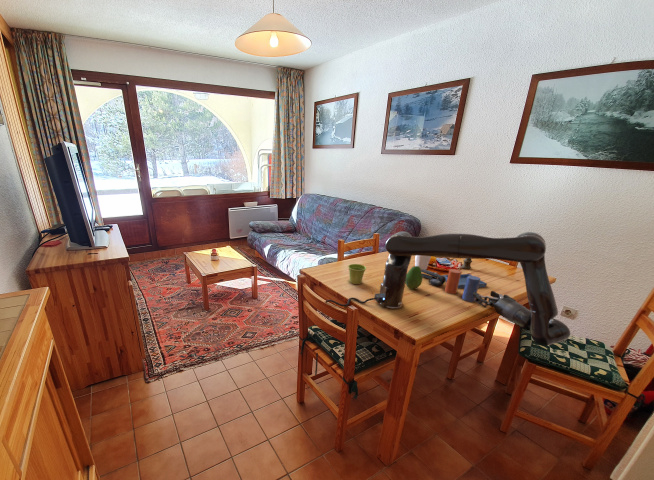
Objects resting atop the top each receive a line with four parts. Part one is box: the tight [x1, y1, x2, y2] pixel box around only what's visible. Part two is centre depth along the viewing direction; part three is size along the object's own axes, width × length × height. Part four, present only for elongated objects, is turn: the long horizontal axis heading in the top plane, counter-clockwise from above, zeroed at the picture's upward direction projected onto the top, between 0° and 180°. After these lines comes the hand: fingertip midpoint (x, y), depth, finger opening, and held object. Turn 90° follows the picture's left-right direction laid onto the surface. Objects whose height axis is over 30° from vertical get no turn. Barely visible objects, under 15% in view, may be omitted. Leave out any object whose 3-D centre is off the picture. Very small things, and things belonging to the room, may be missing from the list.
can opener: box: [421, 269, 446, 287], centre depth 165 cm, size 18×7×6 cm, turn 12°
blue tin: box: [461, 275, 481, 303], centre depth 144 cm, size 5×5×11 cm
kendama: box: [460, 258, 473, 270], centre depth 181 cm, size 6×10×20 cm, turn 28°
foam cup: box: [414, 255, 432, 270], centre depth 182 cm, size 10×9×13 cm
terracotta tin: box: [444, 268, 462, 295], centre depth 152 cm, size 5×5×11 cm
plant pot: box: [347, 263, 367, 285], centre depth 163 cm, size 9×9×9 cm
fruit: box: [405, 265, 423, 290], centre depth 155 cm, size 8×8×12 cm
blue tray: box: [442, 273, 488, 289], centre depth 164 cm, size 16×14×2 cm
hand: (482, 293), depth 137 cm, fingers open, 8 cm apart
